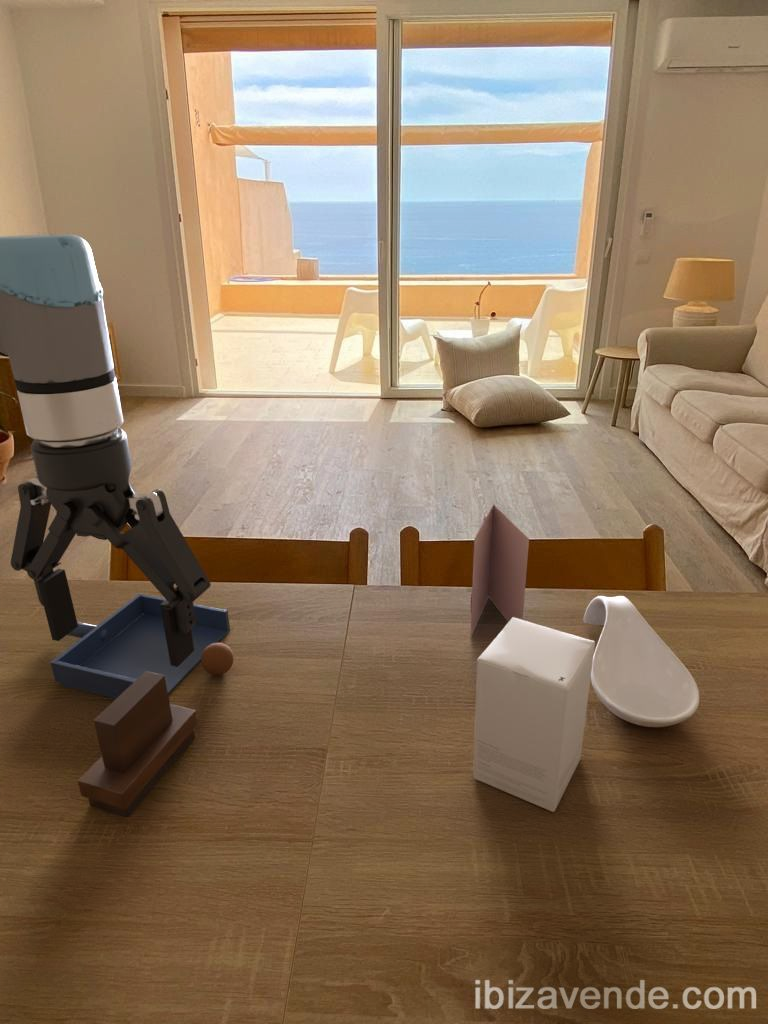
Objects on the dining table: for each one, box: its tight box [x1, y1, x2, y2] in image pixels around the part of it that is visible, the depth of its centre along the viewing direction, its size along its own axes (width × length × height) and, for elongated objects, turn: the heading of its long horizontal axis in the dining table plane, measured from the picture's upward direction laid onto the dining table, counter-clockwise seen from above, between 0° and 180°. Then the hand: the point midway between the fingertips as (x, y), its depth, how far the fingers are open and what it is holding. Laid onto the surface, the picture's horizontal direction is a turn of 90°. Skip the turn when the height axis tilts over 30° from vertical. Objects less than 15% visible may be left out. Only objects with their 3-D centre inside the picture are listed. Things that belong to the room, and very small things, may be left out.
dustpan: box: [50, 593, 231, 700], centre depth 92 cm, size 23×17×3 cm
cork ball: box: [200, 642, 235, 676], centre depth 87 cm, size 4×4×4 cm
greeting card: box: [469, 503, 530, 638], centre depth 95 cm, size 11×7×15 cm, turn 160°
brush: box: [77, 671, 199, 818], centre depth 71 cm, size 5×12×10 cm, turn 161°
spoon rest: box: [582, 595, 700, 728], centre depth 85 cm, size 24×12×7 cm, turn 0°
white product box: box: [472, 617, 596, 813], centre depth 70 cm, size 9×9×15 cm
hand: (122, 645), depth 67 cm, fingers open, 13 cm apart
